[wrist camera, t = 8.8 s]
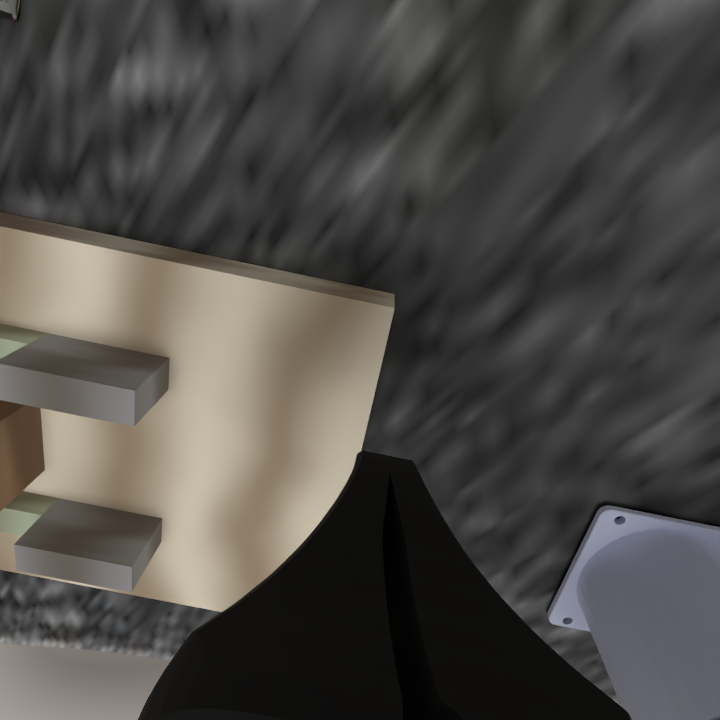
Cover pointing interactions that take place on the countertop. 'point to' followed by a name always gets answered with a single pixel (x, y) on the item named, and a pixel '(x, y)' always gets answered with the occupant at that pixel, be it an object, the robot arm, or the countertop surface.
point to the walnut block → (19, 449)
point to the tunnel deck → (177, 410)
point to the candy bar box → (9, 9)
